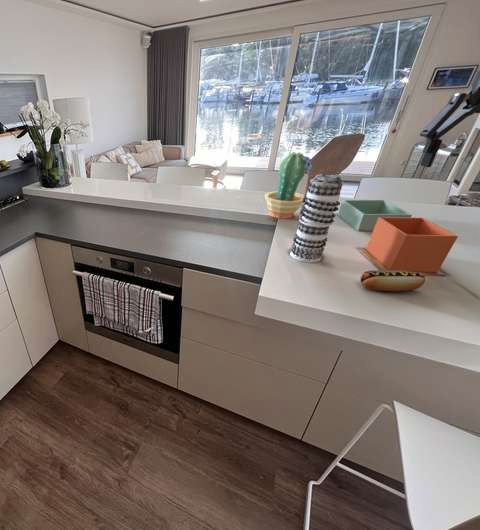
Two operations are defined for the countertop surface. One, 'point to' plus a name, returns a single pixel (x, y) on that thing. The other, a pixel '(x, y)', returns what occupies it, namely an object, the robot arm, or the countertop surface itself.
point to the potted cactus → (288, 186)
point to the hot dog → (392, 280)
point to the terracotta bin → (410, 244)
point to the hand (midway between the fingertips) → (456, 165)
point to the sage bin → (368, 212)
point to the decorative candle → (316, 217)
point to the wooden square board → (386, 269)
